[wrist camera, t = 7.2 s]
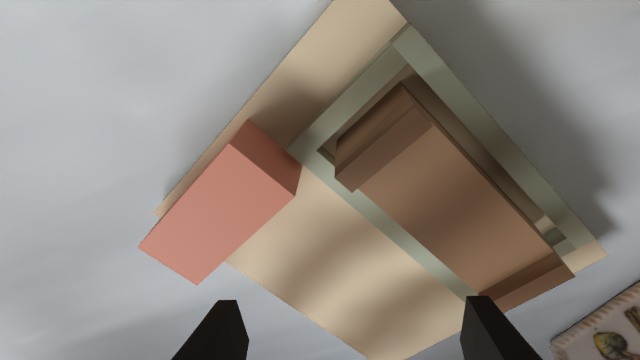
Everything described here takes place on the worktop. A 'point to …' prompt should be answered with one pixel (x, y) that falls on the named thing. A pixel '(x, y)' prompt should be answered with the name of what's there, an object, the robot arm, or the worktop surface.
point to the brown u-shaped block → (446, 201)
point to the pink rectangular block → (224, 204)
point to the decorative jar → (604, 332)
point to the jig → (356, 208)
